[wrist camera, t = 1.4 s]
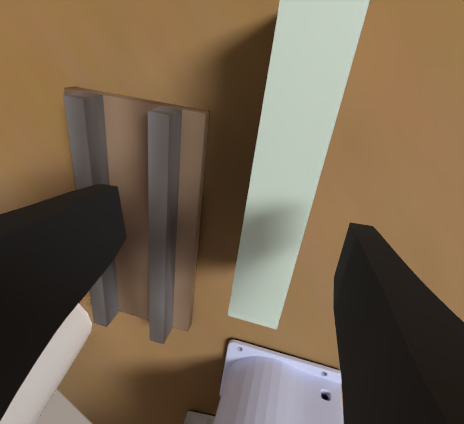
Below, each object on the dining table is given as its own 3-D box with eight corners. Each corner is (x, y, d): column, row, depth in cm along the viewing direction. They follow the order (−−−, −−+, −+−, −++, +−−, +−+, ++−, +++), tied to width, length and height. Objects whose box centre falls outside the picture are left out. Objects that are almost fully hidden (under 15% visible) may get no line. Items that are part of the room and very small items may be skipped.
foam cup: (5, 292, 31) (-169, 426, 20) (58, 264, 27) (-121, 412, 16) (67, 356, 34) (-56, 506, 23) (124, 339, 30) (9, 510, 19)
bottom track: (209, 111, 18) (194, 119, 16) (191, 324, 27) (179, 349, 24) (73, 86, 19) (41, 91, 17) (97, 297, 28) (78, 318, 26)
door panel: (350, 9, 14) (375, -22, 8) (288, 250, 21) (276, 329, 15) (297, 2, 15) (285, -31, 9) (252, 241, 22) (227, 315, 16)
